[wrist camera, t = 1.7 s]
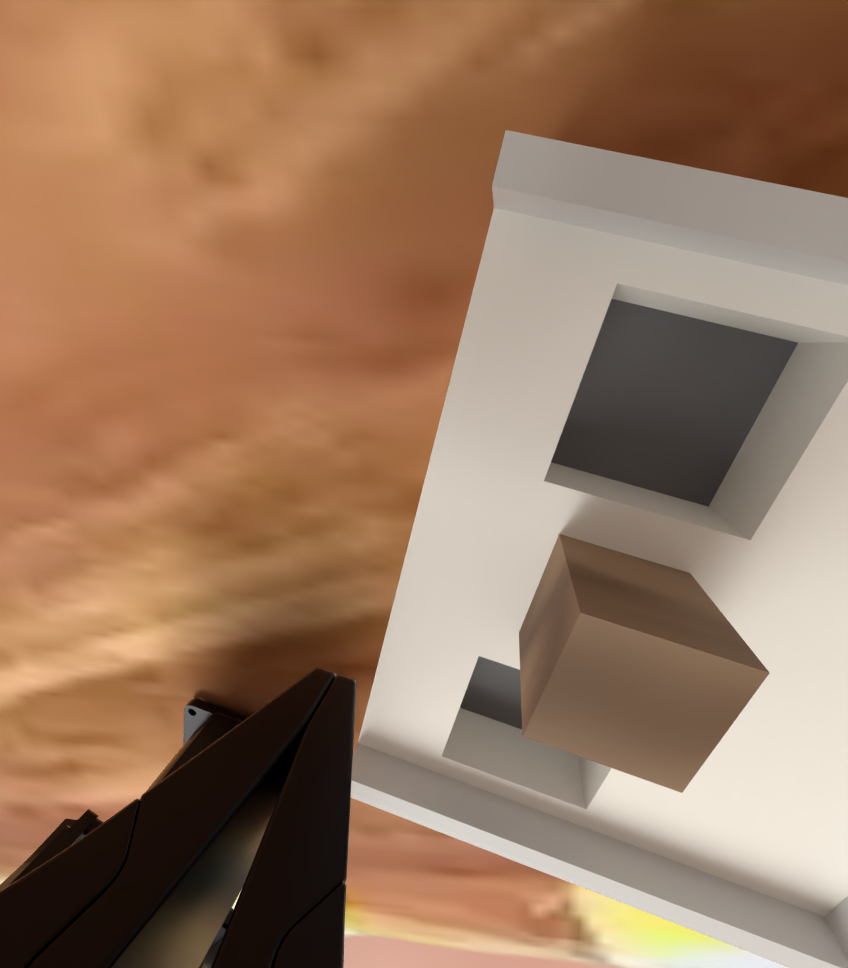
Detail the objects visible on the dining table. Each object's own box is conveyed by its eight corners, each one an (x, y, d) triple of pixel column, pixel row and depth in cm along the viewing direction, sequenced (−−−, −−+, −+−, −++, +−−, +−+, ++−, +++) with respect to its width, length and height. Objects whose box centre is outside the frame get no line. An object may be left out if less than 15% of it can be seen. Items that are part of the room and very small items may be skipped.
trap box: (786, 850, 18) (868, 998, 14) (374, 702, 20) (340, 793, 16) (1252, 363, 11) (1738, 375, 6) (506, 201, 13) (505, 129, 8)
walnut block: (634, 670, 14) (682, 793, 10) (519, 632, 14) (522, 736, 10) (689, 573, 12) (770, 672, 8) (559, 533, 13) (579, 612, 9)
